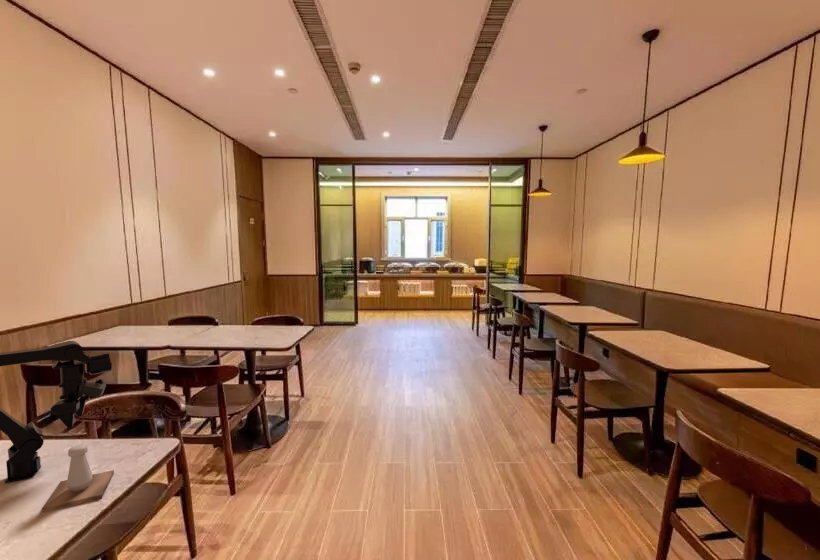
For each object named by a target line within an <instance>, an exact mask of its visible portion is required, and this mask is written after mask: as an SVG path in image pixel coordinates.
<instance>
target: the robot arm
mask: <svg viewBox="0 0 820 560" xmlns="http://www.w3.org/2000/svg"><path fill="white" fill-rule="evenodd" d="M43 361H55V363H53V364H52V365H51V368H52V369H53V370H58V369H59V370H60V371H59V372H60V383H59V384H58V388H60V389H61V395H60V396H59V401H57V402H56V403H55V404H53V406H52V407H51V408H50V413H51V415H54V416H56V417H57V418H58V419H59V420H60V421H61V422H62V423H63V424H64V425H65V426H66V427H65V428H67V429H72V428H74V422H75V421H74V420H75V415H76V416H77V417H78V418H79V417H80V418H81V417H83V414H84V411H85V406H86V402H87V400H88V399H89V398H90V397H94V398H101V397H102V396H103V394H104V392H105V390H106V387H107V383H105V380H104V379H102V378H98V379H97V380H96V381H88V378H87V377H85V376H84V371H85V373H86V374H87V373H88V374H89V375H90V376H92V375H97V374H102V373H108V372H111V371H112V367H113V366H112V365H113V364H112V361H111V357H110V353H109V352H103V353H98V354H94V355H93V354H92V355H89V354H88V353H87V352H85V351H84V349H83V347H82V346H81V345H80V344H79V342H77V341H75V340H67V341H62V342H58V343H55V344H54V343H53V344H52V345H48V346H46V347H45V346H44V347H37V348H31V349H30V348H29V349H23V350H22V349H21V350H11V351H4V352H0V367H5V366H12V365H22V364H28V363H35V362H43ZM0 431H1V432H2V433H3V434H5V435H6V436H7V437H8V439H9V441H10V442H11V443H12V444H11V445H10V447H9V448H8V449H7V456H8V459H7V460H6V461H5V463H6V464H5V465H6V473H7V474H6V475H7V478H6V479H5V480H4V483H12V482H17V481H22V480H27V479H31V478H34V476H35V475H36V474H37V473H38V472H39V471H40V470H41V468H42V464H41V456H39V454H38V452H39V451H38V450H40V449H41V448H42V447H43V445H44V442H45V441H44V438H43V436H44V433H43V430H42V428H41V427H38V426H37V425H36V424H35V423H34V422H33V421H30V422H29V423H28V424H26V423H22V422H20V421H18V420H17V418H15V417H14V416H12V415H11V414H9V412H7V411H6V410H5V409H3V408H2V407H0Z"/></svg>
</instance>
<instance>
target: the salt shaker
mask: <svg viewBox="0 0 820 560" xmlns="http://www.w3.org/2000/svg"><path fill="white" fill-rule="evenodd" d="M87 452H88V445H87V444H85V443H80V444H76V445H73V446H71V447H70V448H69V449H68V452H67V456H68V457H70V463H69V468H68V469H69V470H68V473H67V479H66V480H67V487H68V488H69V489H70V490H71V491H73V492H78V491H81V490H84V489H86V488H87V487H88V486H89V485H90V483H91V481H92V475H93V473H92V469H91V467H90V464H89V462H88V458H87V455H86V454H87Z"/></svg>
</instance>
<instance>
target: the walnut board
mask: <svg viewBox="0 0 820 560" xmlns="http://www.w3.org/2000/svg"><path fill="white" fill-rule="evenodd" d="M114 474H115V472H114V469H112V470H108V471H103V472H99V473H94V474H93V473H92V481H91V483H90V485H89V486H88V487H87V488H86V489H84V490H81V491H78V492H73V491H71V490H70V489H69V488H68V487H67V479H64V480H60V481H59V483H58V484H57V486H56V487H55V489H54V490H53V492H52V493H51V494H50V496H49V497H48V499H47V500H46V502H45V503H44V505H43V506H42V507H41V512H42V513H45V512H50V511H55V510H59V509H62V508H66V507H71V506H75V505H79V504H83V503H84V504H85V503H88V502H92V501H97V500H101V499H103V497H104V495H105V492H106V490H107V489H108V487H109V485H110V483H111V480H112V478H113V477H114Z"/></svg>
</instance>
